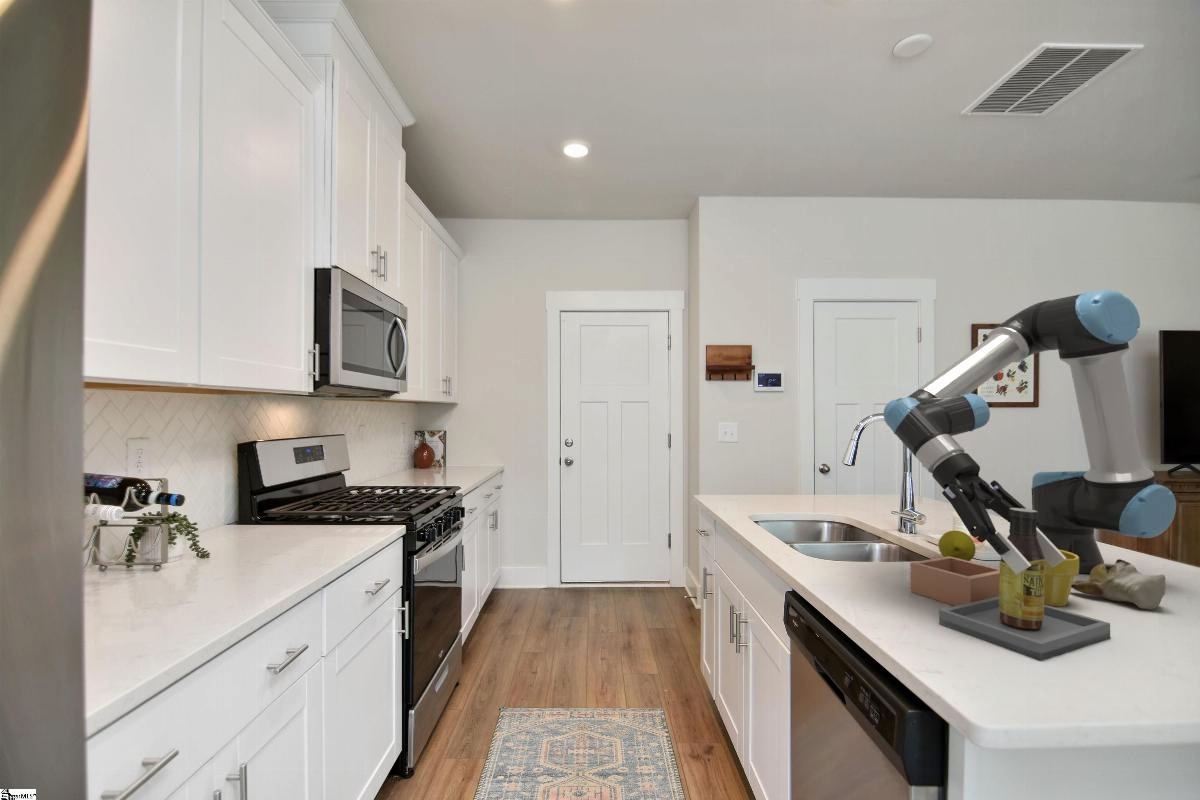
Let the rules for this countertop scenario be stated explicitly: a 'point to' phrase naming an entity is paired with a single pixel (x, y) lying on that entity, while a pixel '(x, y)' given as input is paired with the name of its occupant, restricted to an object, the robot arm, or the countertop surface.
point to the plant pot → (1060, 579)
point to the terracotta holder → (954, 580)
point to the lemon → (957, 545)
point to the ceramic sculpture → (1123, 585)
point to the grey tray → (1048, 641)
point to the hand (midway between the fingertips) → (1041, 566)
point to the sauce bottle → (1023, 575)
